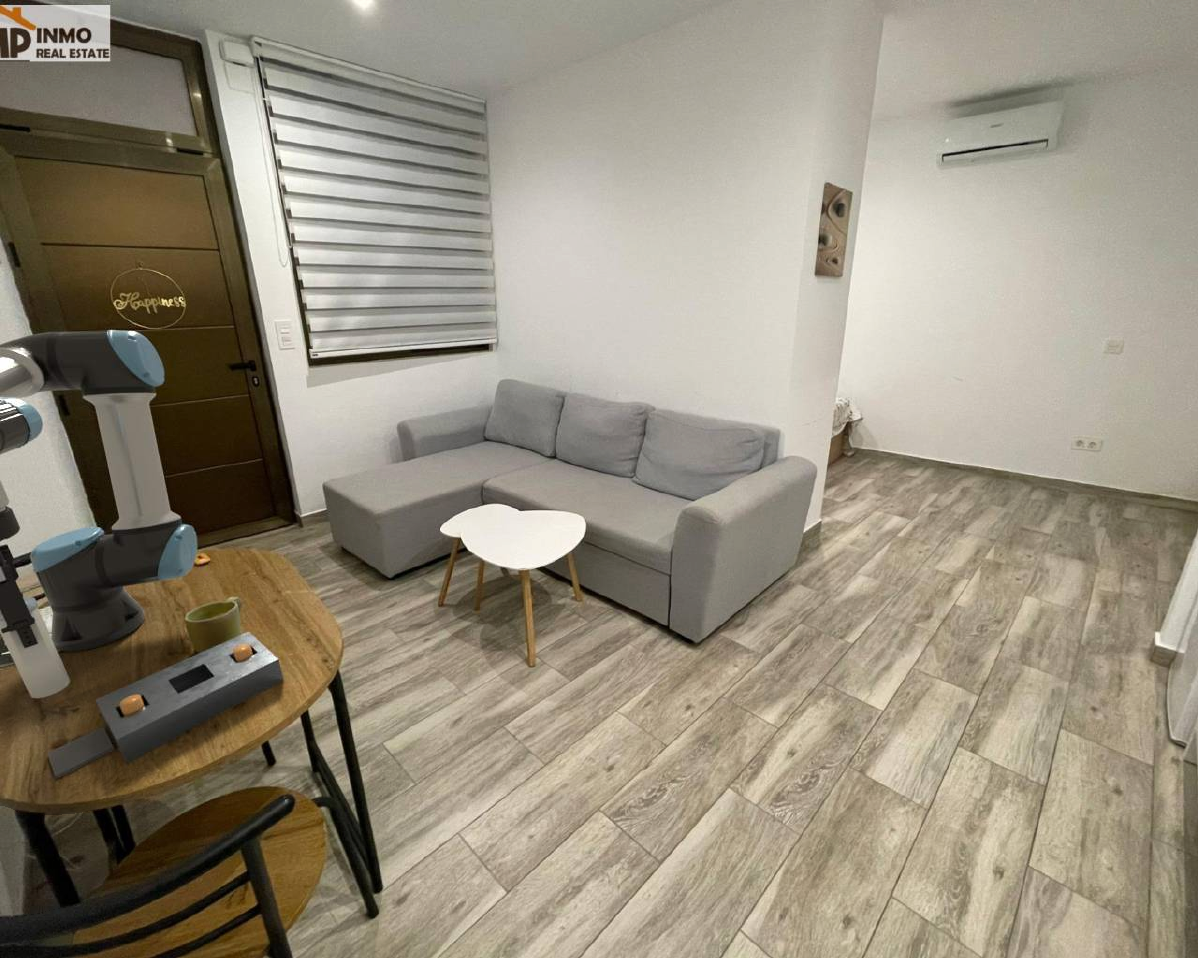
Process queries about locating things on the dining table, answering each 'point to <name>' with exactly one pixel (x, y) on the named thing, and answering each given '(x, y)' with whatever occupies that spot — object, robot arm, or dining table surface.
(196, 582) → the dining table surface
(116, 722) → the housing
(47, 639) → the cartridge
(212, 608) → the mug
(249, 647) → the orange egg shape
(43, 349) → the robot arm
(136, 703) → the plunger near
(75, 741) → the mat
